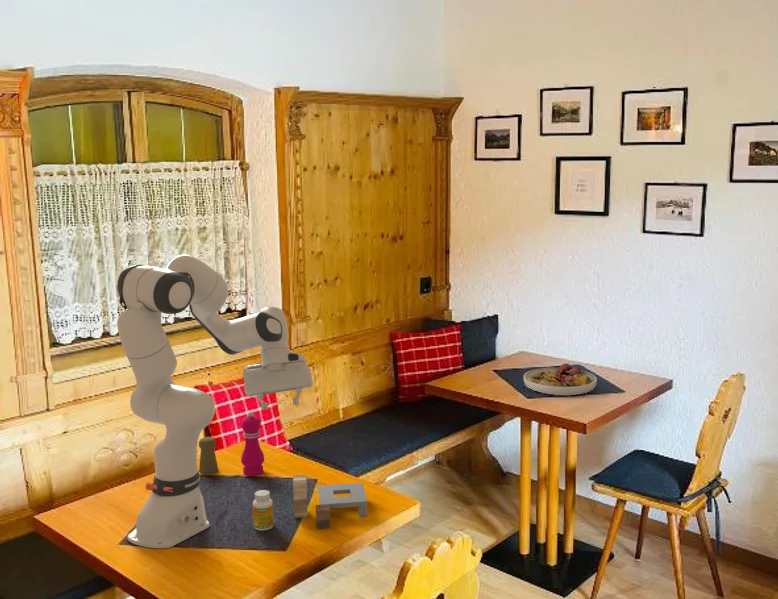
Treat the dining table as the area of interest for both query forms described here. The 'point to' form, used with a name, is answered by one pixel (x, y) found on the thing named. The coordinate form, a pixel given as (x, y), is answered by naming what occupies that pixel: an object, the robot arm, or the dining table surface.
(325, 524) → the walnut peg
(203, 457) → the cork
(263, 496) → the supplement bottle
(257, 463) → the pepper mill
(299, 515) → the maple peg
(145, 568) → the dining table surface
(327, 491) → the collar stand
